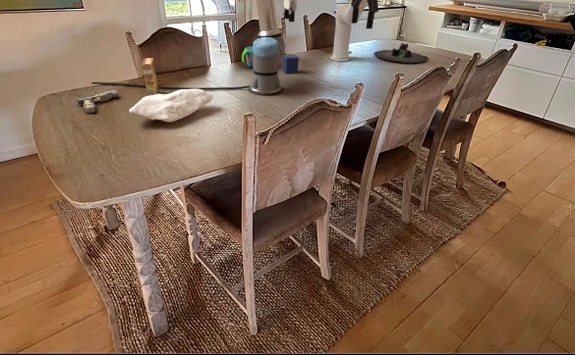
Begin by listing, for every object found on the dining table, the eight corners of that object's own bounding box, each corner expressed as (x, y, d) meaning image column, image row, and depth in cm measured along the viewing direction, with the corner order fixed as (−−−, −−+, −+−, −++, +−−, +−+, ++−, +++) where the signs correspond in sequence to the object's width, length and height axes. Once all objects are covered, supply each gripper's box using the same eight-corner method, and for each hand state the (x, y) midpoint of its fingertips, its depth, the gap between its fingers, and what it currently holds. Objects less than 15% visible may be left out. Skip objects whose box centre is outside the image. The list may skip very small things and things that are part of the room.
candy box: (157, 97, 164) (152, 63, 155) (147, 98, 163) (141, 63, 155) (158, 91, 171) (153, 57, 163) (149, 91, 170) (143, 58, 162)
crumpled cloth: (117, 110, 146) (113, 90, 140) (195, 92, 166) (194, 73, 160) (143, 139, 134) (140, 118, 128) (223, 116, 154) (224, 96, 148)
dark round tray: (438, 59, 239) (441, 44, 234) (403, 65, 221) (405, 50, 217) (397, 50, 264) (399, 37, 259) (362, 56, 246) (363, 42, 242)
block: (297, 72, 204) (298, 57, 200) (286, 73, 202) (286, 58, 198) (294, 70, 208) (295, 55, 204) (283, 71, 206) (283, 55, 202)
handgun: (128, 97, 156) (111, 87, 164) (86, 107, 144) (70, 97, 152) (129, 103, 157) (113, 94, 165) (88, 114, 146) (72, 103, 154)
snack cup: (261, 62, 218) (261, 45, 213) (270, 67, 211) (270, 49, 205) (237, 65, 211) (237, 47, 205) (246, 70, 203) (246, 51, 198)
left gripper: (392, -25, 147) (383, 30, 159) (361, -29, 167) (355, 20, 178) (376, -25, 145) (368, 31, 157) (347, -30, 165) (341, 21, 176)
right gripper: (302, -11, 196) (299, 23, 206) (292, -15, 210) (290, 17, 219) (288, -12, 194) (287, 23, 203) (279, -15, 208) (278, 17, 217)
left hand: (361, 25), depth 167 cm, fingers open, 13 cm apart
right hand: (288, 20), depth 211 cm, fingers open, 9 cm apart
